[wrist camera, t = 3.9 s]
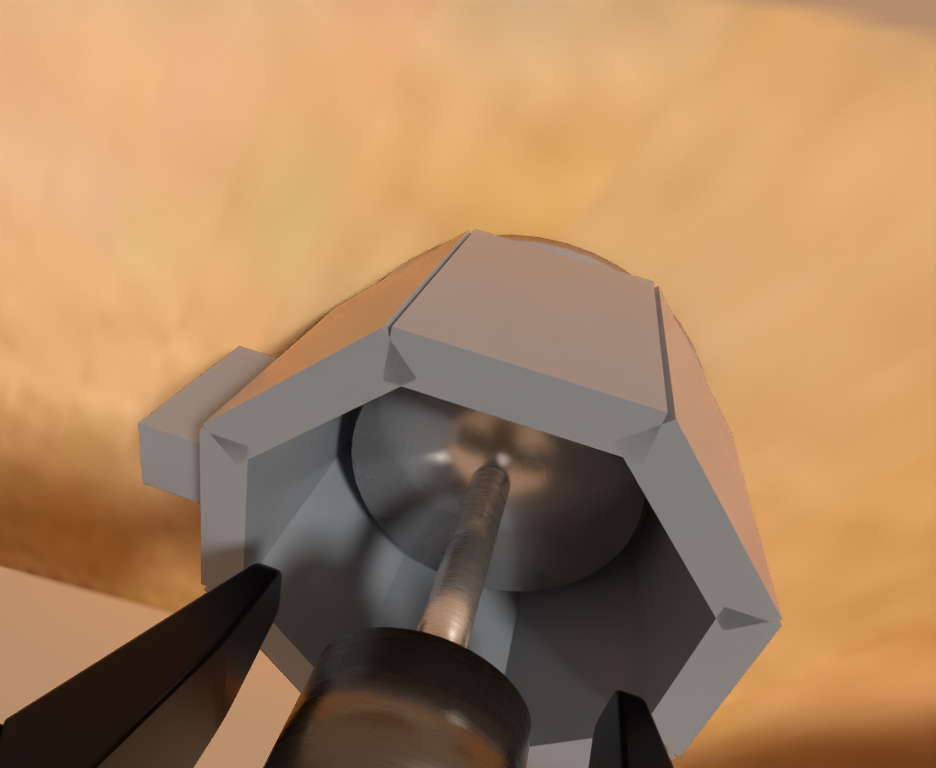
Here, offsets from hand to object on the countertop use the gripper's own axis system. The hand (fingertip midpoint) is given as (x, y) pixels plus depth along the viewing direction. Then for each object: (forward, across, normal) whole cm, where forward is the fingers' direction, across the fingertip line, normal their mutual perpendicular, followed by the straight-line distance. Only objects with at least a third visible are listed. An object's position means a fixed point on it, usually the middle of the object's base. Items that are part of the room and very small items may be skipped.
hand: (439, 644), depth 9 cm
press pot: (+6, 0, 0) cm, 6 cm away
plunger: (+5, 0, 0) cm, 5 cm away
